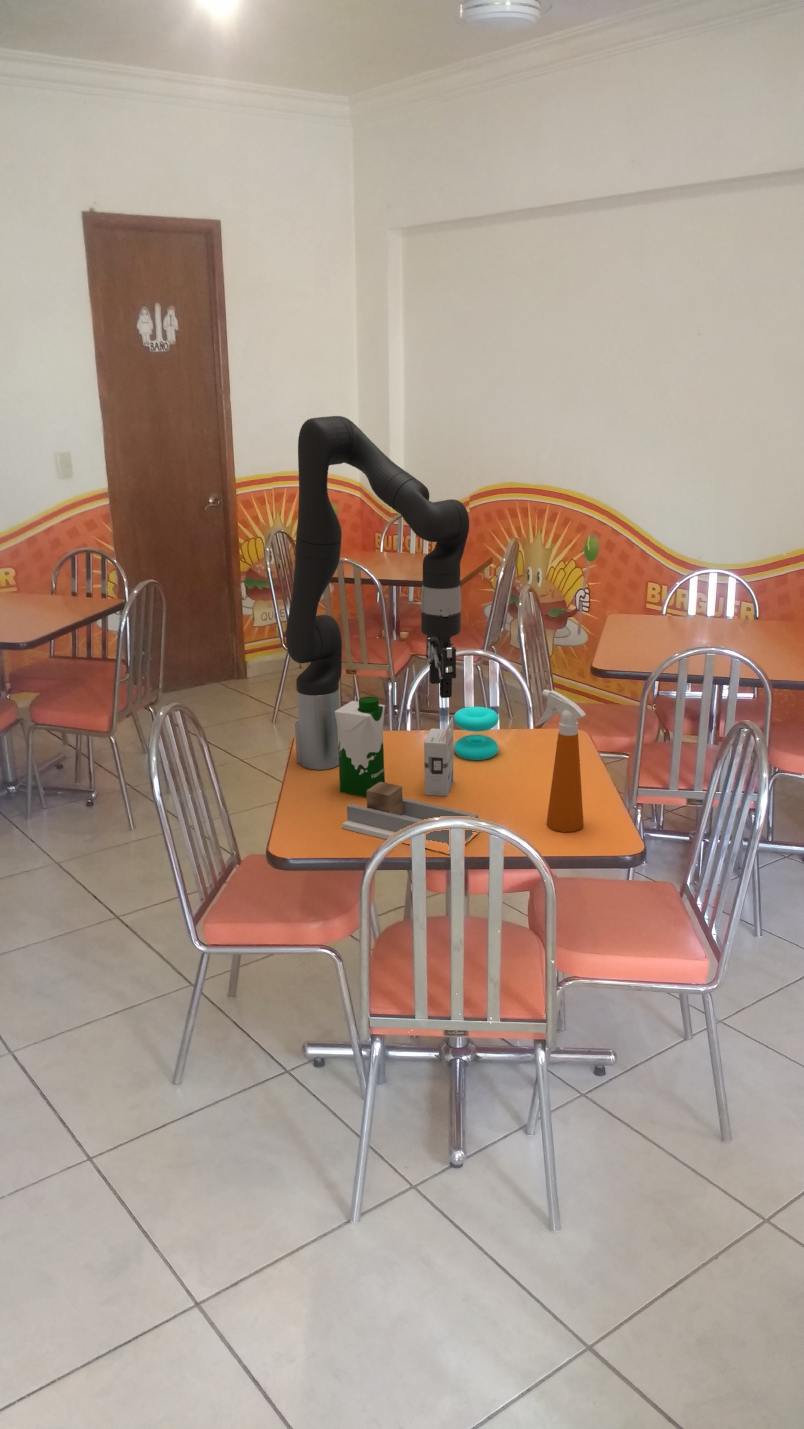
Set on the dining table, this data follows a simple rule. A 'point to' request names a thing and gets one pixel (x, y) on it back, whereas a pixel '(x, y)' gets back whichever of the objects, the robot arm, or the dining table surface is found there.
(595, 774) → the dining table surface
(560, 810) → the spray bottle
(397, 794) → the block
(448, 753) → the ink box
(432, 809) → the chute
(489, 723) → the donuts
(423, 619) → the robot arm
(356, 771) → the milk carton
